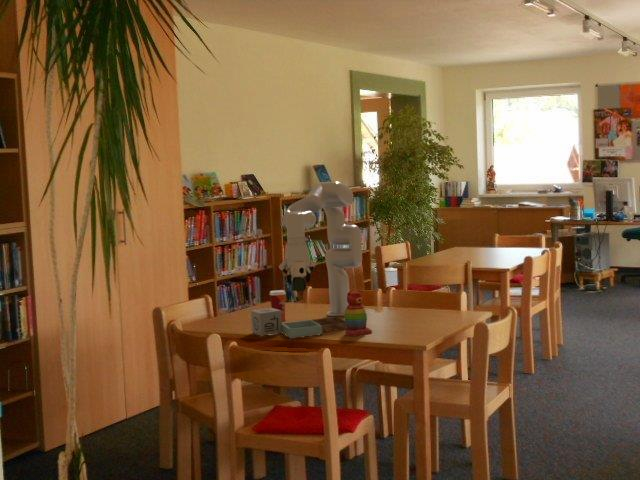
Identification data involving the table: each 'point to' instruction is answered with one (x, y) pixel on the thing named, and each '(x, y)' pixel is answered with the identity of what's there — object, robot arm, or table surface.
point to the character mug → (298, 276)
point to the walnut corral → (338, 320)
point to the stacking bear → (356, 315)
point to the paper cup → (278, 301)
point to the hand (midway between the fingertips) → (298, 282)
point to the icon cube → (266, 321)
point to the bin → (301, 328)
